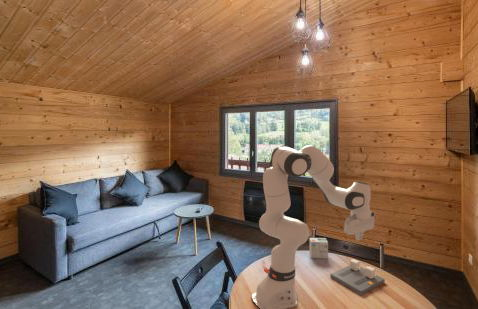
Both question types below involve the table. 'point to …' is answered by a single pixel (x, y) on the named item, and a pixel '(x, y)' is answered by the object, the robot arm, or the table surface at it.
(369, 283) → the panel
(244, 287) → the table surface
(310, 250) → the light bulb box
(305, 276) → the table surface
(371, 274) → the block
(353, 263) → the white slider knob
